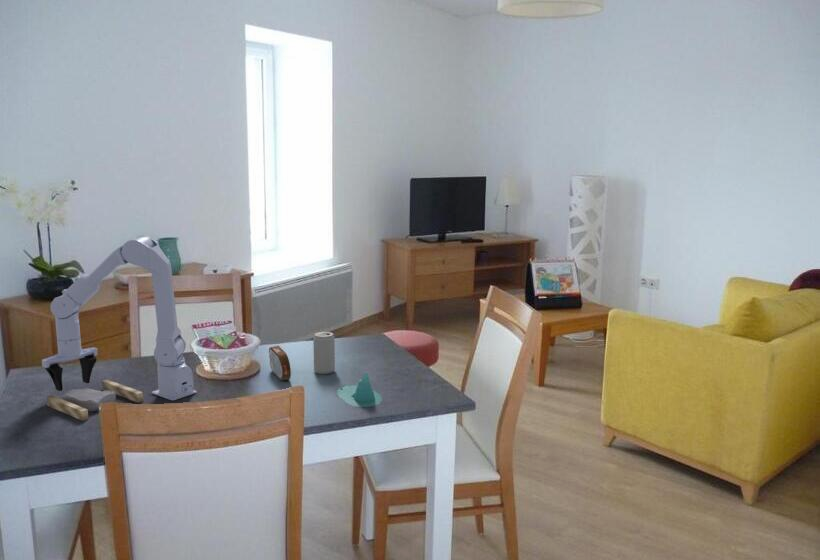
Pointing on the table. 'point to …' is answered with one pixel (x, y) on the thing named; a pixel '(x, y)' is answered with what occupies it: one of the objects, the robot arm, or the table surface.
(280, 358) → the bread slice
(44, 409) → the table surface
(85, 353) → the robot arm
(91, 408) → the stone block
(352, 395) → the diorama
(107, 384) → the pair of wooden posts
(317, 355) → the beverage can
